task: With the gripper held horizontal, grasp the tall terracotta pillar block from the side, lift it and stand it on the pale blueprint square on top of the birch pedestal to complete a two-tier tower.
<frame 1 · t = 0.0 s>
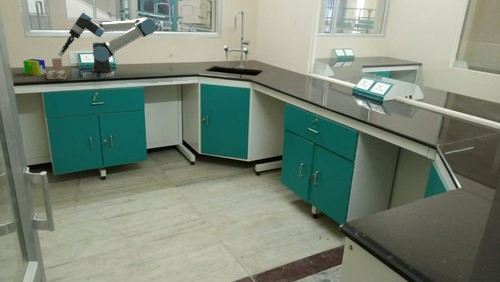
hand: (60, 54, 285), 15 cm above the counter, tool tilted 35°, fingers open, 13 cm apart
pedestal: (57, 77, 279), on the counter
puzzle toy: (35, 73, 289), on the counter
pillar block: (58, 74, 292), on the counter
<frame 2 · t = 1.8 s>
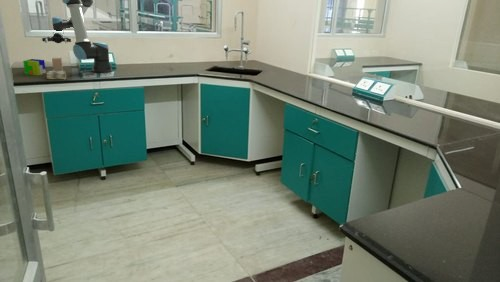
hand: (55, 41, 292), 24 cm above the counter, tool horizontal, fingers open, 13 cm apart
nothing on the counter moved.
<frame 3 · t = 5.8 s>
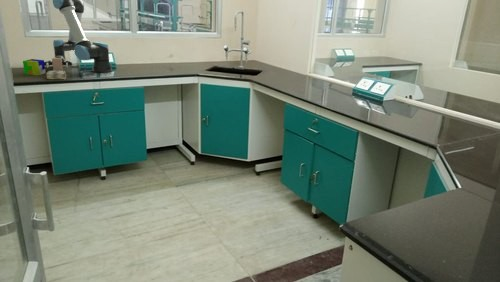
hand: (57, 65, 288), 7 cm above the counter, tool horizontal, fingers open, 13 cm apart
puzzle toy: (35, 73, 288), on the counter, touching gripper
everything else where it was.
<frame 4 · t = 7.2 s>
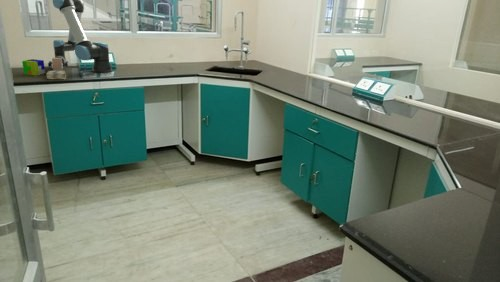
hand: (57, 66, 285), 7 cm above the counter, tool horizontal, fingers closed on pillar block, 6 cm apart
puzzle toy: (34, 74, 287), on the counter
pillar block: (58, 74, 292), on the counter, touching gripper
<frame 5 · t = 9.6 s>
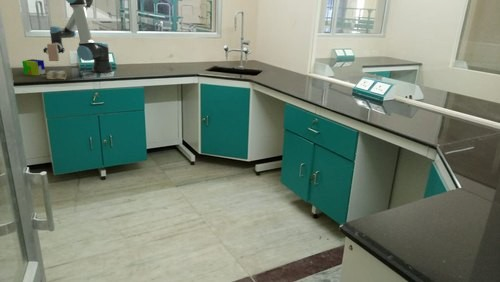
hand: (52, 52, 275), 18 cm above the counter, tool horizontal, fingers closed on pillar block, 6 cm apart
pillar block: (54, 60, 282), point 11 cm above the counter, touching gripper
everything else where it was.
when the fingers open (12 cm above the counter, at t = 11.9 s): pillar block drops 1 cm, resting on pedestal.
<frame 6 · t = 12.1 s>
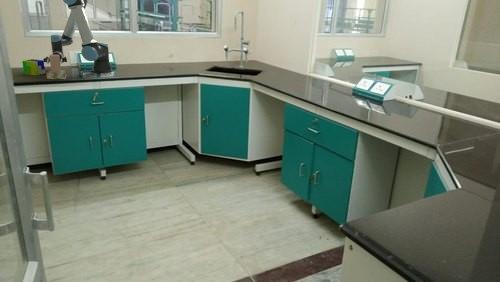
hand: (54, 62, 270), 12 cm above the counter, tool horizontal, fingers open, 8 cm apart
pillar block: (56, 71, 277), point 5 cm above the counter, touching pedestal
everything else where it was.
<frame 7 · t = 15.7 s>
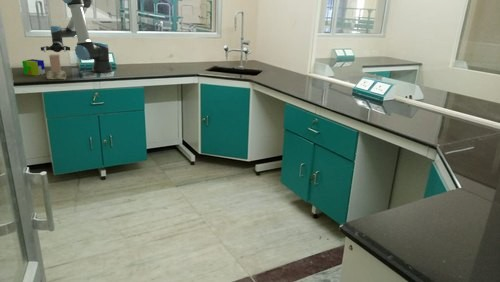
hand: (54, 50, 282), 19 cm above the counter, tool horizontal, fingers open, 13 cm apart
nothing on the counter moved.
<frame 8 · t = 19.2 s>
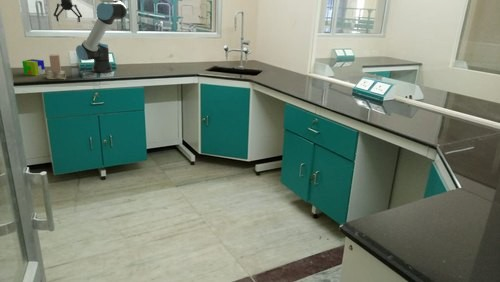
hand: (69, 26, 297), 35 cm above the counter, tool pointing down, fingers open, 13 cm apart
nothing on the counter moved.
at the end: pillar block inside the target area on the pedestal (0.0 cm from its centre), point 4.6 cm above the pedestal's base; pillar block tilted 0°; the gripper is holding nothing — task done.
